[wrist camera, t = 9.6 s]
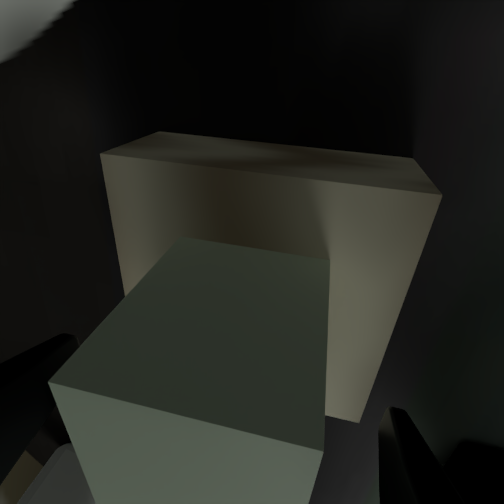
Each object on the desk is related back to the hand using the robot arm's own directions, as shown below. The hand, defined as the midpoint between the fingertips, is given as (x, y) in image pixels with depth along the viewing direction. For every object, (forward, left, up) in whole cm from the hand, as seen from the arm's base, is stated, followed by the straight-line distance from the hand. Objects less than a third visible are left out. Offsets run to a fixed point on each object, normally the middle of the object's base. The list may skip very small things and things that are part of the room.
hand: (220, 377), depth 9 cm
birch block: (0, 0, -7) cm, 7 cm away
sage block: (0, 0, -3) cm, 3 cm away
